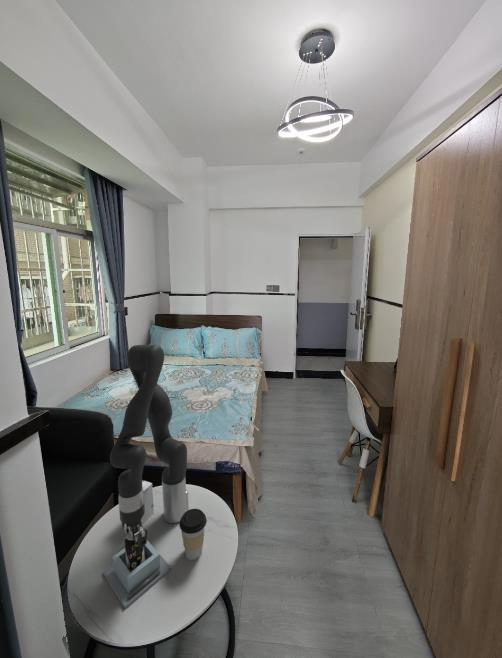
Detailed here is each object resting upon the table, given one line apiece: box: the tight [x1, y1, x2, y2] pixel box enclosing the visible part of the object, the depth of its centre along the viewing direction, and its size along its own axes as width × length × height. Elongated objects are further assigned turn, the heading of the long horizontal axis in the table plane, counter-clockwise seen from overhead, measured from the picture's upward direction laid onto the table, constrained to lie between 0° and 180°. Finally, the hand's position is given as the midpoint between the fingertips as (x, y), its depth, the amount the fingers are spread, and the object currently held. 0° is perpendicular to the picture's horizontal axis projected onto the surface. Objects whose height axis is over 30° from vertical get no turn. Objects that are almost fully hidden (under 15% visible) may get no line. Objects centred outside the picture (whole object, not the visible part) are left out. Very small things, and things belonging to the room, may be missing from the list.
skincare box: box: [141, 479, 155, 527], centre depth 118 cm, size 8×6×15 cm
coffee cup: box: [179, 508, 208, 561], centre depth 104 cm, size 9×9×15 cm
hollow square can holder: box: [102, 539, 172, 610], centre depth 98 cm, size 16×16×6 cm
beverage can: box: [124, 531, 145, 570], centre depth 97 cm, size 6×6×12 cm
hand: (134, 547), depth 97 cm, fingers closed on beverage can, 5 cm apart
